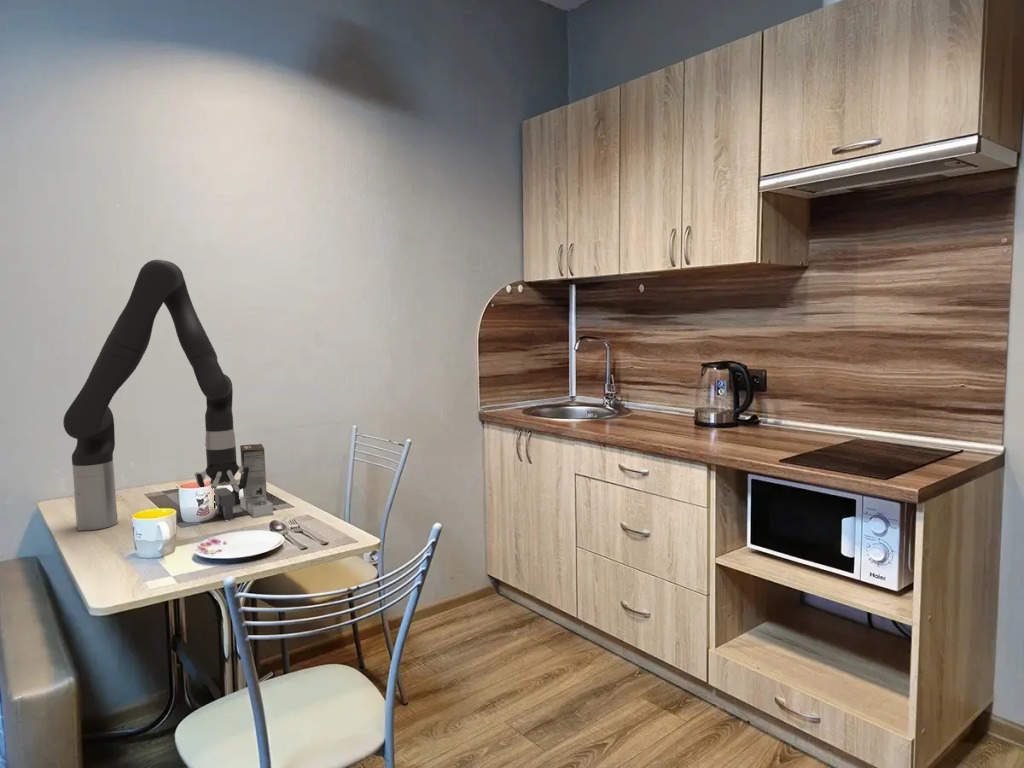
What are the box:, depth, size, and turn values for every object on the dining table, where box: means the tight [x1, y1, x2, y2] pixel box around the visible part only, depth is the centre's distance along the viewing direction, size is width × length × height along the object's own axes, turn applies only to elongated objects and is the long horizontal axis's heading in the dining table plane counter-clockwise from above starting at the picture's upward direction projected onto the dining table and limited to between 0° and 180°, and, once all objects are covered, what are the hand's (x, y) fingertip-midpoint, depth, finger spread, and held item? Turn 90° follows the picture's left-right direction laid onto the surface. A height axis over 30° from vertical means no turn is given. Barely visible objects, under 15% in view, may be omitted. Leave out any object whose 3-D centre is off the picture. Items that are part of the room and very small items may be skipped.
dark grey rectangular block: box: [215, 487, 236, 521], centre depth 186 cm, size 4×9×7 cm, turn 37°
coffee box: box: [239, 443, 268, 500], centre depth 204 cm, size 9×6×16 cm
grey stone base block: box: [239, 494, 274, 518], centre depth 191 cm, size 5×13×4 cm, turn 37°
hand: (224, 506), depth 186 cm, fingers open, 5 cm apart
